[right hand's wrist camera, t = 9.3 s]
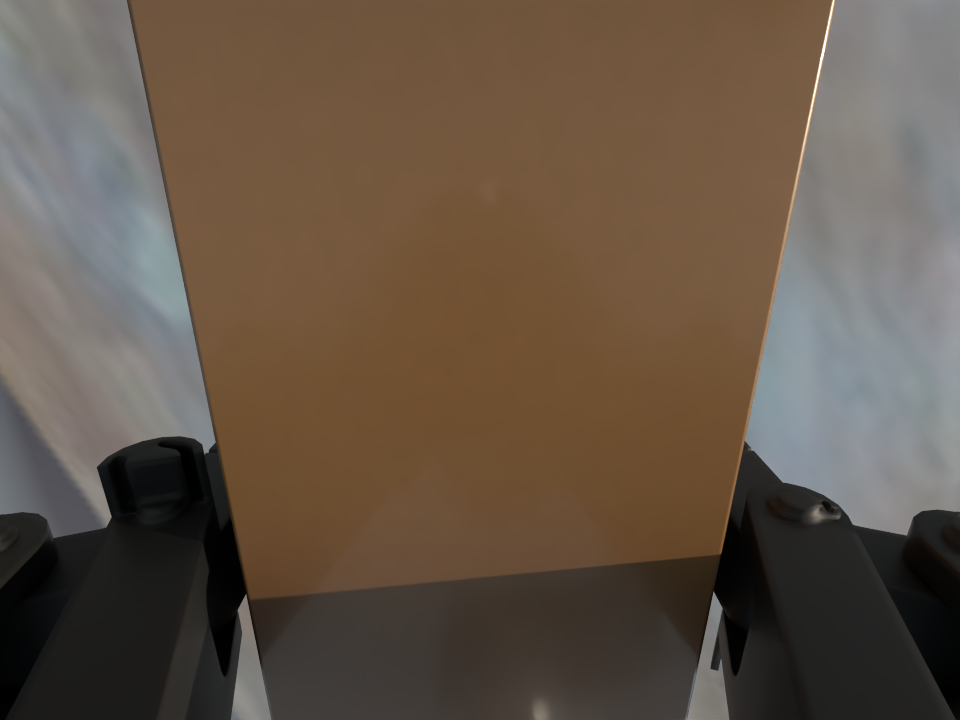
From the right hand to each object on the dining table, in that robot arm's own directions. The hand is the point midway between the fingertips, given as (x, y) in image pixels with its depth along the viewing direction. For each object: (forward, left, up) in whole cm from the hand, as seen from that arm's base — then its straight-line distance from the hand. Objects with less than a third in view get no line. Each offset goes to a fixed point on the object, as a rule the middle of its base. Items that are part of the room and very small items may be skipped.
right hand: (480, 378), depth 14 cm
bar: (+7, +7, -1) cm, 10 cm away
